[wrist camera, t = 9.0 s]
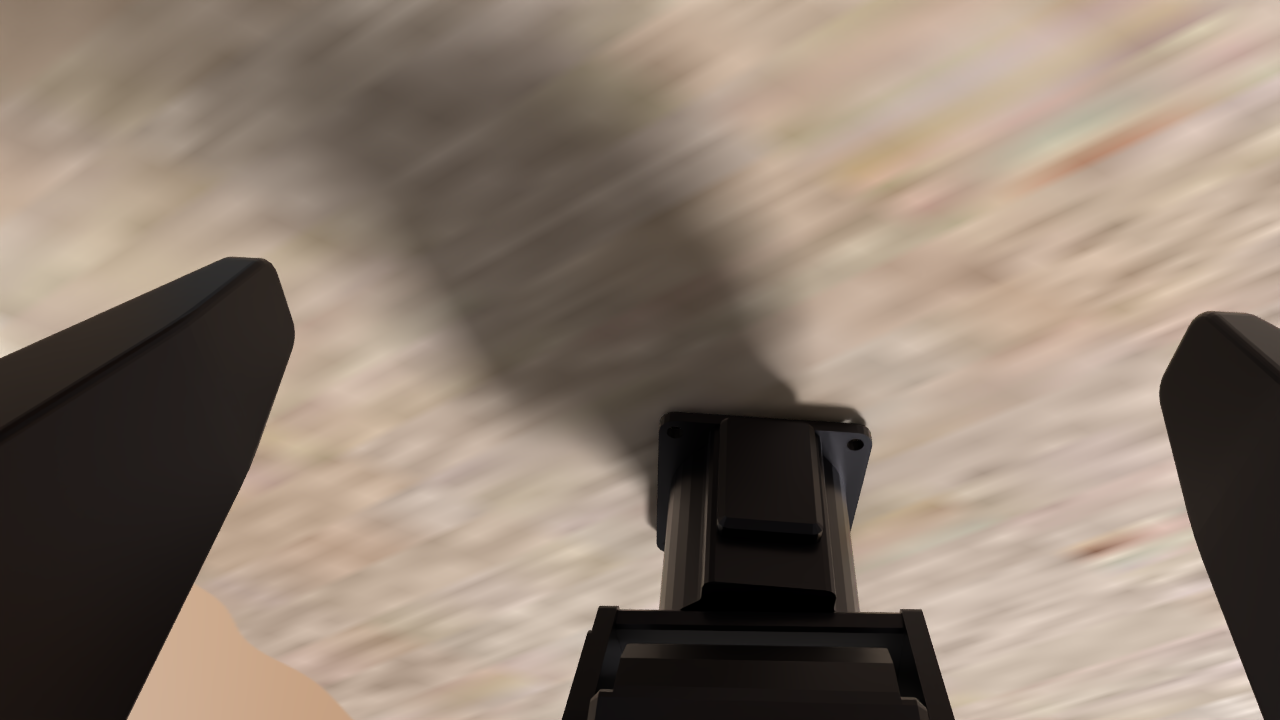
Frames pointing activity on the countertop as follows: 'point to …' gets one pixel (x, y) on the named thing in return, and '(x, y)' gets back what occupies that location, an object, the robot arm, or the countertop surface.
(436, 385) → the countertop surface
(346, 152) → the countertop surface
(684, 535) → the robot arm
